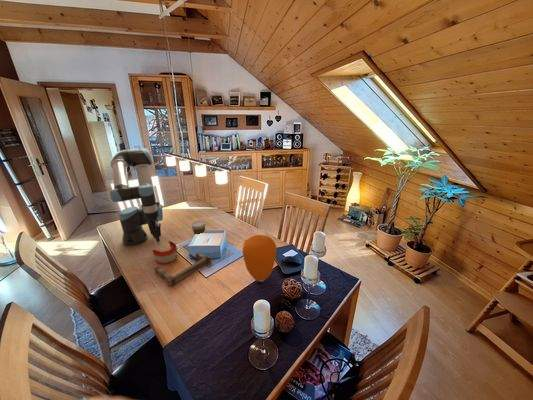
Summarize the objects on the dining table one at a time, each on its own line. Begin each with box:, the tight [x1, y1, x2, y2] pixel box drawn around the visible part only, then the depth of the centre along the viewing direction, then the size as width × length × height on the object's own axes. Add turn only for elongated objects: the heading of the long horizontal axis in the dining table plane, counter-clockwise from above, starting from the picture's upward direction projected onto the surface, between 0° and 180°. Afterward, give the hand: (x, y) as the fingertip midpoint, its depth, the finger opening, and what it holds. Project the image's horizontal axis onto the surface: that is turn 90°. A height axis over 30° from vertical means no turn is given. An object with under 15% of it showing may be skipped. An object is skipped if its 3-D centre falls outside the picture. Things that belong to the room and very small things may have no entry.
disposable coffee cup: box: [190, 220, 206, 235], centre depth 157 cm, size 10×10×12 cm
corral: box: [153, 253, 212, 288], centre depth 128 cm, size 17×26×4 cm, turn 143°
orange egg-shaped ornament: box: [242, 234, 278, 283], centre depth 115 cm, size 17×17×25 cm
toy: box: [152, 240, 178, 265], centre depth 136 cm, size 12×10×8 cm
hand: (158, 245), depth 141 cm, fingers closed
